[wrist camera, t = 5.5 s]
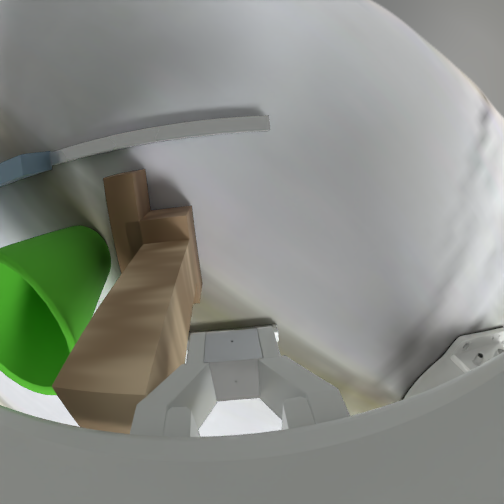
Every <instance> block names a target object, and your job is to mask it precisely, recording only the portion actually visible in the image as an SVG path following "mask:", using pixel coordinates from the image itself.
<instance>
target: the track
mask: <svg viewBox="0 0 504 504" xmlns="http://www.w3.org/2000/svg"><path fill="white" fill-rule="evenodd" d="M269 130H270V122H269V115H266V116H244V117H230V118H218V119H208V120H199V121H190V122H183V123H176V124H169V125H163V126H157V127H151V128H145V129H140V130H135V131H130V132H125V133H120V134H116V135H111V136H107V137H103V138H99V139H95V140H91V141H87V142H84V143H80V144H76V145H73V146H70V147H66V148H63V149H60V150H56V151H53V152H50V162H51V166H52V165H57V164H61V163H65V162H68V161H72V160H76V159H80V158H83V157H87V156H91V155H96V154H100V153H104V152H109V151H113V150H118V149H123V148H128V147H133V146H138V145H144V144H150V143H156V142H162V141H168V140H175V139H182V138H190V137H199V136H208V135H218V134H229V133H242V132H260V131H269ZM267 326H272V327H273V330H274V334H275V337H276V341H279V332H278V329H277V325H276V324H271V325H263V326H254V327H245V328H235V329H225V330H213V331H201V332H214V331H232V330H245V329H255V328H259V327H267ZM191 333H196V332H189V335H188V342H187V350H188V346H189V339H190V334H191Z"/></svg>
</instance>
